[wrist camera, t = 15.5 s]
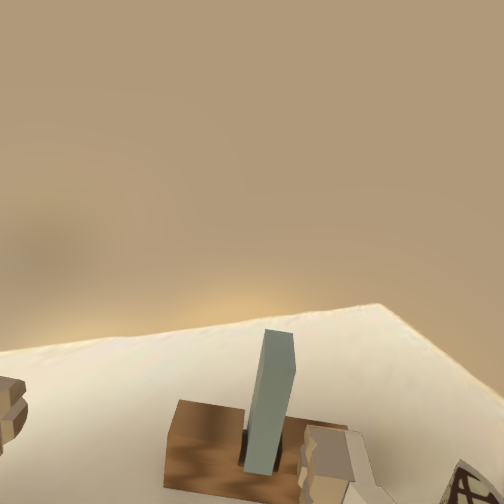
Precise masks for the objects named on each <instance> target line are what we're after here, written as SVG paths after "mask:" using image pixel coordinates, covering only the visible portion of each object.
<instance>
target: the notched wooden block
mask: <svg viewBox="0 0 504 504" xmlns="http://www.w3.org/2000/svg"><path fill="white" fill-rule="evenodd" d="M244 413H245V410H243V409H237V408H230V407H224V406H217V405H211V404H205V403H198V402H192V401H186V400H179V402H178V405H177V408H176V411H175V414H174V417H173V420H172V423H171V426H170V429H169V432H168V438H167V450H166V462H165V473H164V485H163V487H165V488H171V489H177V490H184V491H190V492H197V493H203V494H209V495H216V496H222V497H228V498H235V499H241V500H247V501H254V502H260V503H267V504H299V497H300V493H301V490H302V488H301V487H300V486H299V484H298V476H297V466H298V457H299V452H300V447H301V446H302V445H303V444H305V443H304V432H305V428H306V426H307V425H314V426H321V427H328V428H334V429H341V430H348V427H347V426H345V425H338V424H332V423H326V422H319V421H313V420H307V419H300V418H294V417H287V416H285V419H284V424H283V428H282V432H281V437H280V441H279V445H278V450H277V454H276V458H275V462H274V467H273V471H272V475H271V476H269V475H262V474H256V473H249V472H244V460H245V448H246V436H247V430H245V429H243V423H244Z"/></svg>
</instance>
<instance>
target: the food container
mask: <svg viewBox="0 0 504 504" xmlns="http://www.w3.org/2000/svg"><path fill="white" fill-rule="evenodd" d="M439 504H504V499H503V498H502V496H501V495H500V494H499V492H498V491H497V490H496V489H495V488H494V486H493V485H492V484H491V483H490V482H489V481H488V480H487V479H486V478H485V477H484V476H482V475H481V474H480V473H479V472H478V471H477V470H475V469H474V468H473V467H471V466H470V465H469V464H467V463H466V462H464V461H462V460H461V459H460V460H459V462H458V463H457V465H456V467H455V469H454V473H453V475H452V477H451V479H450V481H449V484H448V486H447V488H446V490H445V492H444V494H443V497H442V499H441V501H440V503H439Z"/></svg>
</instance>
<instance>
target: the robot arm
mask: <svg viewBox="0 0 504 504" xmlns="http://www.w3.org/2000/svg"><path fill="white" fill-rule="evenodd" d="M25 392H26V386H25V382H24V381H22V380H19V379H13V378H8V377H3V376H0V456H1V455H2V454H3V445H4V444H6V443H7V442H9V441H11V440H13V439H15V437H16V436H17V435H18V434H19V432H20V431H21V430H22V427H23V425H24V423H25V421H26V419H27V413H28V404H27V402H26V401H25V400H24V399H23V397H22V395H23V394H24V393H25ZM304 443H305V444H303V445H302V446H301V447H300V452H299V457H298V466H297V476H298V484H299V486H300V487H301V488H302V490H301V493H300V497H299V504H397V503H396V502H395V501H394V500H393V499H392V498H391V497H390V495H389V494H388V493H387V492H386V491H385V490H384V489H383V488H382V487H380V486H376V483H375V479H374V476H373V472H372V468H371V465H370V461H369V458H368V454H367V451H366V447H365V444H364V440H363V437H362V435H361V433H360V432H355V431H348V430H341V429H334V428H328V427H321V426H314V425H307V426H306V428H305V432H304Z"/></svg>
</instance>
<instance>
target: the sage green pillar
mask: <svg viewBox="0 0 504 504" xmlns="http://www.w3.org/2000/svg"><path fill="white" fill-rule="evenodd" d="M295 372H296V364H295V353H294V342H293V333H287V332H281V331H275V330H268V329H265V334H264V339H263V344H262V350H261V355H260V361H259V366H258V371H257V377H256V382H255V388H254V393H253V398H252V404H251V409H250V414H249V420H248V425H247V436H246V448H245V460H244V472H249V473H256V474H262V475H269V476H271V475H272V471H273V467H274V462H275V458H276V454H277V450H278V445H279V441H280V437H281V432H282V428H283V424H284V419H285V415H286V411H287V406H288V402H289V398H290V393H291V389H292V385H293V380H294V376H295Z"/></svg>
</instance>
